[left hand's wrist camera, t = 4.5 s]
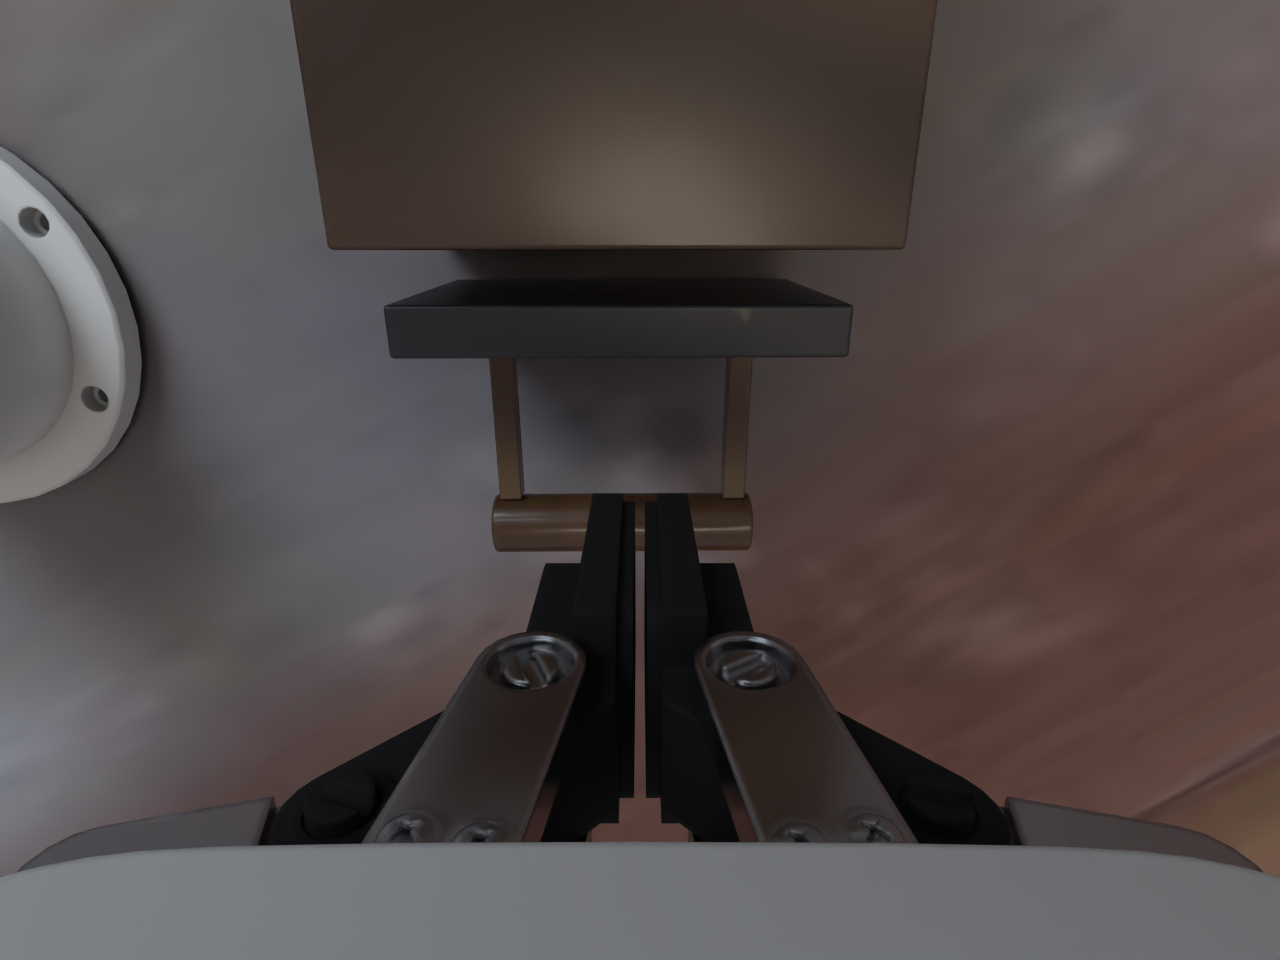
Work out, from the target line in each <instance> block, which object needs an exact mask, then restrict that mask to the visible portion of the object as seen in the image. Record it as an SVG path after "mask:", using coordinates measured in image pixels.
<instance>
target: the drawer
mask: <svg viewBox="0 0 1280 960" xmlns="http://www.w3.org/2000/svg"><path fill="white" fill-rule="evenodd" d="M384 314H385V322H386V330H387V337H388V345H389V352H390V356H391V357H392V358H489V363H490V375H491V388H492V401H493V413H494V426H495V438H496V451H497V464H498V476H499V489H500V494H499V495H497V496H496V497H495V500H494V503H493V509H492V538H493V544H494V547H495V549H496V550H497V551H499V552H534V551H583V546H584V541H585V535H586V529H587V523H588V518H589V512H590V506H591V500H592V495H593V494H524V491H525V489H524V474H523V458H522V443H521V428H520V412H519V397H518V382H517V366H516V358H717V357H726V375H725V398H724V420H723V442H722V464H721V487H720V490H721V493H605V494H623V501H635V551H645V501H657V494H687V495H688V500H689V506H690V512H691V518H692V523H693V529H694V535H695V541H696V546H697V550H747V549H749V548H750V545H751V542H752V534H753V513H752V504H751V500H750V497H749V495H748V494H747V493H745V476H746V459H747V442H748V425H749V408H750V391H751V374H752V357H846V356H847V355H848V353H849V344H850V334H851V325H852V316H853V305H851V304H849V303H846V302H843V301H841V300H838V299H835V298H833V297H830V296H828V295H825V294H822V293H820V292H817V291H815V290H812V289H809V288H807V287H804V286H802V285H799V284H796V283H794V282H791V281H789V280H786V279H651V280H456V281H454V282H451V283H448V284H445V285H442V286H439V287H437V288H434V289H431V290H428V291H425V292H422V293H420V294H417V295H414V296H411V297H408V298H405V299H403V300H400V301H397V302H394V303H391V304H388V305H386V306H385V307H384Z"/></svg>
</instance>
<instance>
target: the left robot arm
mask: <svg viewBox="0 0 1280 960" xmlns="http://www.w3.org/2000/svg"><path fill="white" fill-rule="evenodd" d="M141 368H142V358H141V350H140V342H139V333H138V326H137V323H136V320H135V317H134V313H133V310H132V307H131V304H130V300H129V297H128V294H127V291H126V288H125V286H124V284H123V282H122V280H121V278H120V276H119V274H118V272H117V270H116V268H115V266H114V264H113V262H112V260H111V258H110V256H109V254H108V253H107V251H106V250H105V248H104V247H103V245H102V244H101V243H100V241H99V240H98V238H97V237H96V236H95V234H94V233H93V231H92V230H91V229H90V227H89V226H88V224H87V223H86V221H85V220H84V219H83V217H82V216H81V215H80V214H79V213H78V212H77V211H76V210H75V209H74V208H73V206H72V205H71V204H70V203H69V202H68V201H67V200H66V199H65V198H64V197H63V196H62V195H61V194H60V193H59V192H58V191H57V190H56V189H55V187H54V186H53V185H52V184H51V183H50V182H48V181H47V180H46V179H45V178H43V177H42V176H41V175H40V174H38V173H37V172H36V171H34V170H33V169H32V168H31V167H29V166H28V165H27V164H26V163H24V162H23V161H22V160H21V159H19V158H18V157H17V156H16V155H14V154H13V153H11V152H9V151H8V150H6V149H4V148H3V147H1V146H0V503H8V502H13V501H18V500H23V499H28V498H33V497H37V496H40V495H42V494H44V493H47V492H49V491H52V490H54V489H56V488H59V487H61V486H63V485H66V484H68V483H70V482H72V481H73V480H75V479H77V478H79V477H80V476H82V475H84V474H86V473H87V472H89V471H91V470H93V469H94V468H95V467H96V466H97V465H98V464H99V463H100V462H101V461H102V460H104V459H105V458H106V457H107V456H108V455H109V454H110V453H111V452H112V451H113V450H114V449H115V447H116V446H117V444H118V443H119V441H120V439H121V438H122V436H123V434H124V433H125V431H126V430H127V428H128V426H129V425H130V422H131V419H132V416H133V413H134V410H135V407H136V404H137V401H138V397H139V392H140V380H141ZM635 644H636V628H635V501H623V494H593V495H592V500H591V506H590V512H589V518H588V523H587V529H586V535H585V541H584V546H583V552H582V558H581V563H546V564H545V567H544V570H543V574H542V577H541V581H540V584H539V588H538V592H537V595H536V599H535V602H534V606H533V610H532V613H531V617H530V620H529V624H528V628H527V631H526V632H524V633H518V634H513V635H510V636H508V637H505V638H502V639H499V640H498V641H496V642H494V643H493V644H491V645H490V646H488V647H486V648H485V649H484V651H483V652H482V653H481V654H480V655H479V656H478V657H477V659H476V660H475V662H474V664H473V665H472V667H471V668H470V670H469V672H468V673H467V675H466V676H465V678H464V680H463V681H462V683H461V684H460V686H459V688H458V689H457V691H456V692H455V694H454V696H453V697H452V699H451V700H450V702H449V704H448V705H447V707H446V708H445V710H444V711H442V712H440V713H439V714H437V715H435V716H433V717H431V718H429V719H427V720H425V721H423V722H422V723H420V724H418V725H416V726H414V727H412V728H410V729H408V730H406V731H404V732H403V733H401V734H399V735H397V736H395V737H393V738H391V739H389V740H387V741H386V742H384V743H382V744H380V745H378V746H376V747H374V748H372V749H370V750H368V751H367V752H365V753H363V754H361V755H359V756H357V757H355V758H353V759H351V760H350V761H348V762H346V763H344V764H342V765H340V766H338V767H336V768H334V769H332V770H331V771H329V772H327V773H325V774H323V775H321V776H319V777H317V778H316V779H314V780H313V781H311V782H310V783H308V784H307V785H305V786H303V787H302V788H300V789H299V790H298V791H297V792H296V793H295V794H294V795H292V796H291V797H290V798H289V799H288V800H287V801H286V802H285V803H284V804H283V805H282V806H281V807H276V805H275V801H274V797H267V798H261V799H255V800H250V801H244V802H238V803H232V804H227V805H221V806H215V807H209V808H204V809H198V810H192V811H186V812H181V813H175V814H169V815H163V816H158V817H152V818H146V819H140V820H135V821H129V822H123V823H117V824H111V825H106V826H100V827H97V828H93V829H90V830H87V831H83V832H80V833H76V834H74V835H72V836H70V837H68V838H66V839H64V840H62V841H60V842H58V843H56V844H54V845H52V846H50V847H48V848H46V849H45V850H43V851H42V852H41V853H39V854H38V855H37V856H35V857H34V858H33V859H31V860H30V861H28V862H27V863H26V864H24V865H23V866H22V867H21V868H20V869H19V870H18V871H17V873H14V874H10V875H7V876H3V877H0V960H1280V877H1277V876H1273V875H1270V874H1266V873H1263V871H1262V870H1261V869H1260V868H1259V867H1258V866H1257V865H1256V864H1254V863H1253V862H1252V861H1250V860H1249V859H1247V858H1246V857H1245V856H1243V855H1242V854H1241V853H1239V852H1238V851H1237V850H1235V849H1234V848H1232V847H1230V846H1228V845H1226V844H1224V843H1222V842H1220V841H1218V840H1216V839H1214V838H1212V837H1210V836H1208V835H1206V834H1204V833H1200V832H1197V831H1193V830H1190V829H1187V828H1183V827H1180V826H1174V825H1169V824H1163V823H1157V822H1151V821H1145V820H1140V819H1134V818H1128V817H1122V816H1117V815H1111V814H1105V813H1099V812H1094V811H1088V810H1082V809H1076V808H1071V807H1065V806H1059V805H1053V804H1048V803H1042V802H1036V801H1030V800H1025V799H1019V798H1013V797H1006V801H1005V805H1004V807H999V806H998V805H997V804H996V803H995V802H994V801H993V800H992V799H991V798H990V797H989V796H988V795H987V794H985V793H984V792H983V791H982V790H981V789H980V788H978V787H977V786H975V785H973V784H972V783H970V782H969V781H967V780H966V779H964V778H963V777H961V776H959V775H957V774H955V773H953V772H951V771H949V770H948V769H946V768H944V767H942V766H940V765H938V764H936V763H934V762H932V761H930V760H929V759H927V758H925V757H923V756H921V755H919V754H917V753H915V752H913V751H912V750H910V749H908V748H906V747H904V746H902V745H900V744H898V743H896V742H894V741H893V740H891V739H889V738H887V737H885V736H883V735H881V734H879V733H877V732H876V731H874V730H872V729H870V728H868V727H866V726H864V725H862V724H860V723H858V722H857V721H855V720H853V719H851V718H849V717H847V716H845V715H843V714H841V713H840V712H838V711H836V710H835V708H834V707H833V705H832V704H831V702H830V700H829V699H828V697H827V696H826V694H825V692H824V691H823V689H822V688H821V686H820V684H819V683H818V681H817V680H816V678H815V676H814V675H813V673H812V672H811V670H810V668H809V667H808V665H807V664H806V662H805V660H804V659H803V657H802V656H801V655H800V654H799V653H798V652H797V651H796V649H795V648H794V647H792V646H790V645H789V644H787V643H786V642H784V641H782V640H781V639H778V638H775V637H772V636H770V635H767V634H762V633H756V632H754V631H753V628H752V624H751V620H750V617H749V613H748V610H747V606H746V602H745V599H744V595H743V592H742V588H741V584H740V581H739V577H738V574H737V570H736V567H735V564H734V563H699V558H698V552H697V546H696V541H695V535H694V529H693V523H692V518H691V512H690V506H689V500H688V495H687V494H657V501H645V629H644V644H645V744H646V798H661V823H680V824H682V825H683V826H684V827H685V828H687V829H688V842H592V829H593V828H595V827H596V826H597V825H598V824H600V823H619V798H634V744H635Z"/></svg>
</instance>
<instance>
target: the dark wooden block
mask: <svg viewBox="0 0 1280 960" xmlns="http://www.w3.org/2000/svg"><path fill="white" fill-rule="evenodd" d="M290 4H291V10H292V17H293V23H294V30H295V36H296V43H297V49H298V56H299V62H300V69H301V75H302V82H303V88H304V94H305V101H306V107H307V114H308V120H309V127H310V133H311V140H312V146H313V153H314V159H315V166H316V172H317V179H318V185H319V192H320V198H321V205H322V211H323V218H324V224H325V231H326V237H327V243H328V247H329V248H330V249H332V250H900V249H903V248H904V247H905V244H906V237H907V229H908V222H909V214H910V206H911V199H912V191H913V183H914V176H915V168H916V161H917V153H918V145H919V138H920V130H921V122H922V115H923V107H924V99H925V92H926V84H927V77H928V69H929V61H930V54H931V46H932V38H933V31H934V23H935V15H936V8H937V0H290Z"/></svg>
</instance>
